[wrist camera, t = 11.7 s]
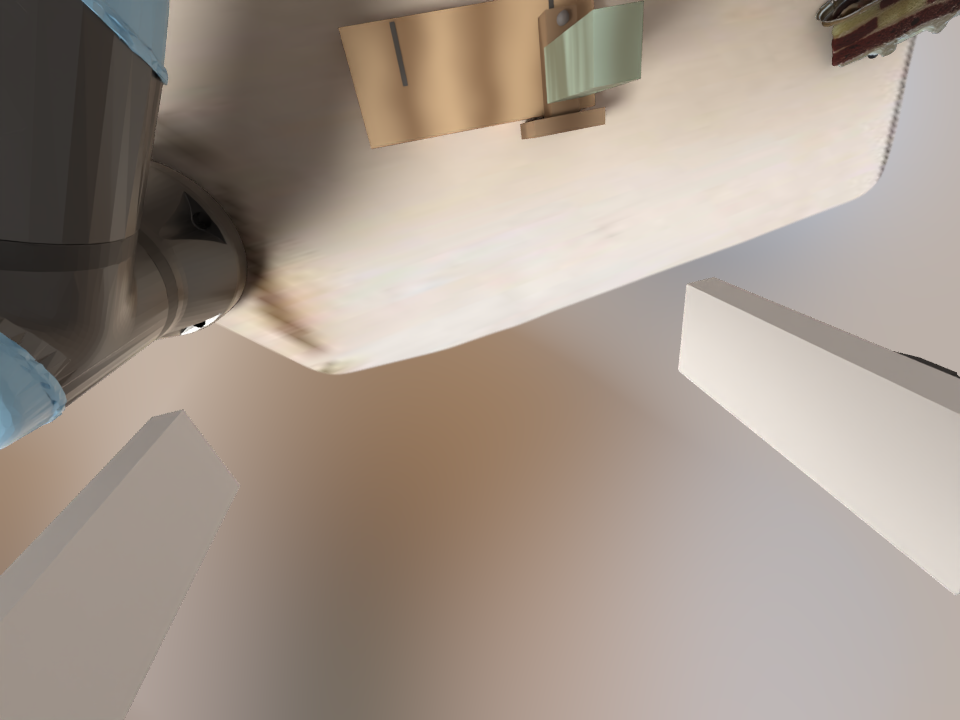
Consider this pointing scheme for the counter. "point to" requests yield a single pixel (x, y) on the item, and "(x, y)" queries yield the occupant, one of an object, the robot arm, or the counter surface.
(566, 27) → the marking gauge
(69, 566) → the robot arm
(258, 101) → the counter surface
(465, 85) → the oak board
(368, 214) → the counter surface
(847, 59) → the chocolate cake
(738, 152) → the counter surface
